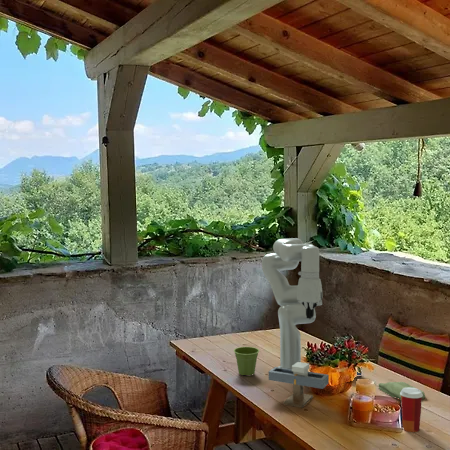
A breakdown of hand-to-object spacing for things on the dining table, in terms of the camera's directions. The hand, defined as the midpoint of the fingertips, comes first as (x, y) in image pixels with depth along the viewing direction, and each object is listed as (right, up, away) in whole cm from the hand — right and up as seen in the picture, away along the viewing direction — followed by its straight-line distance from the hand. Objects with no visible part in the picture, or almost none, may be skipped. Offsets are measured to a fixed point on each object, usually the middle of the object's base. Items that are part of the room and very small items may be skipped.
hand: (309, 317), depth 246 cm
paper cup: (+30, -33, -41) cm, 61 cm away
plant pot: (-26, -30, +20) cm, 44 cm away
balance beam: (-7, -31, -14) cm, 35 cm away
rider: (-6, -21, -15) cm, 27 cm away
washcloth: (+37, -31, -6) cm, 49 cm away
